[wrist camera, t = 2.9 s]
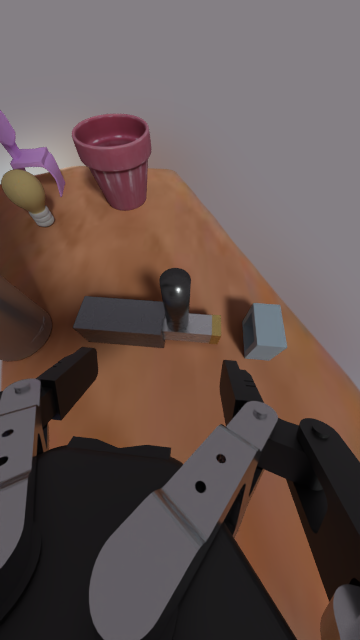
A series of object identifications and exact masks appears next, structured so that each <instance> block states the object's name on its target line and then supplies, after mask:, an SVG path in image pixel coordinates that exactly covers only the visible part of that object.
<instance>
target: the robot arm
mask: <svg viewBox="0 0 360 640" xmlns="http://www.w3.org/2000/svg"><path fill="white" fill-rule="evenodd" d="M51 329H52V321H51V318H50V316H49V314H48V313H47V312H46V311H45V310H43V309H42V308H41V307H40V306H38V305H37V304H36V303H35V302H33V301H32V300H31V299H30V298H29V297H27V296H26V295H25V294H23V293H22V292H21V291H20V290H18V289H17V288H16V287H15V286H13V285H12V284H11V283H10V282H8V281H7V280H6V279H5V278H3V277H2V276H1V275H0V360H3V361H17V360H21V359H24V358H26V357H28V356H30V355H32V354H33V353H35V352H36V351H37V350H38V349H40V348H41V347H42V346H43V344H44V343H45V342H46V341H47V339H48V337H49V335H50V332H51ZM97 374H98V363H97V351H96V349H95V348H89V347H81V348H80V349H79V350H77V351H76V352H75V353H74V354H71V355H69V356H67V357H64V358H63V359H61V360H60V361H59V362H58V363H56V364H55V365H53V367H51V368H49V369H48V370H47V371H45V372H44V373H43V374H41V375H40V376H39V377H37V378H36V379H25V380H21V381H18V382H15V383H13V384H11V385H9V386H8V387H6V388H5V389H4V391H1V392H0V640H297V639H296V637H295V635H294V634H293V632H292V630H291V629H290V627H289V626H288V624H287V622H286V621H285V619H284V618H283V616H282V614H281V613H280V611H279V610H278V608H277V606H276V605H275V603H274V602H273V600H272V598H271V597H270V595H269V594H268V592H267V590H266V589H265V587H264V586H263V584H262V582H261V581H260V579H259V577H258V576H257V574H256V573H255V571H254V569H253V568H252V566H251V565H250V563H249V561H248V560H247V558H246V557H245V555H244V553H243V552H242V550H241V549H240V547H239V545H238V544H237V542H236V541H235V539H234V538H235V536H236V534H237V532H238V529H239V527H240V525H241V522H242V519H243V517H244V514H245V511H246V508H247V506H248V503H249V501H250V499H251V497H252V495H253V493H254V491H255V489H256V486H257V484H258V482H259V480H260V478H261V476H262V474H263V472H264V469H265V470H267V471H270V472H272V473H274V474H276V475H279V476H281V477H283V478H286V480H287V483H288V486H289V489H290V492H291V495H292V497H293V500H294V503H295V506H296V509H297V512H298V514H299V517H300V520H301V523H302V526H303V529H304V531H305V534H306V537H307V540H308V543H309V546H310V548H311V551H312V554H313V557H314V560H315V563H316V565H317V568H318V571H319V574H320V577H321V580H322V582H323V585H324V588H325V591H326V594H327V597H328V599H329V604H328V605H327V607H326V609H325V611H324V613H323V615H322V617H321V623H320V632H321V640H360V462H359V461H358V459H357V458H356V457H355V455H354V454H353V453H352V451H351V450H350V449H349V447H348V446H347V445H346V443H345V442H344V441H343V439H342V438H341V437H340V435H339V434H338V433H337V432H336V431H335V430H334V429H333V428H332V427H330V426H329V425H327V424H325V423H323V422H321V421H319V420H316V419H311V418H305V419H303V420H301V422H300V424H299V425H296V424H293V423H290V422H287V421H284V420H281V419H279V418H278V416H277V414H276V412H275V411H274V410H273V409H272V408H271V407H270V406H268V405H266V404H264V402H263V400H262V398H261V396H260V394H259V392H258V389H257V387H256V385H255V383H254V381H253V379H252V377H251V375H250V374H249V373H248V372H247V371H246V370H240V369H239V367H238V364H237V362H236V361H231V360H223V364H222V371H221V379H220V395H221V401H222V407H223V412H224V418H225V423H226V427H225V426H224V425H222V424H220V425H219V426H218V427H217V428H216V429H215V430H214V431H213V432H212V433H211V434H210V435H209V437H208V438H207V439H206V440H205V441H204V442H203V443H202V444H201V446H200V447H199V448H198V449H197V450H196V451H195V452H194V453H193V454H192V456H191V457H190V458H189V459H188V460H187V461H186V462H185V463H184V464H182V463H181V462H180V461H178V460H176V459H174V458H172V457H170V454H171V448H168V447H160V446H151V445H142V446H133V447H125V448H117V447H115V446H112V445H110V444H107V443H105V442H103V441H100V440H98V439H92V438H83V437H75V436H73V438H72V439H71V441H70V442H69V444H68V445H65V446H60V447H57V448H53V449H51V450H49V425H48V422H49V421H50V420H51V419H53V420H62V419H63V418H64V417H65V415H66V414H67V413H68V412H69V411H70V409H71V408H72V407H73V406H74V405H75V403H76V402H77V401H78V400H79V399H80V397H81V396H82V395H83V394H84V393H85V391H86V390H87V389H88V388H89V387H90V385H91V384H92V383H93V382H94V381H95V379H96V377H97Z"/></svg>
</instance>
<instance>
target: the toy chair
mask: <svg viewBox="0 0 360 640" xmlns="http://www.w3.org/2000/svg"><path fill="white" fill-rule="evenodd" d="M0 143H1V144H2V145H3V146H4V147H5V149H6V150H7V151H8V153H9V154H10V155H11V157H12V158H13V160H12V161H11V163H10V164H11V166H12V168H13V170H14V169H19V170H24V171H26V170H25V168H24V167H43V168H45V169H47V170H48V171H49V172H50V173H51V174H52V176H53V177H54V178H55V180H56V182H57V185H58V189H59V193H60V197H62V194H63V190H64V185H65V181H64V179H63V177H62V174H61V172H60V170H59V168H58V165H57V163H56V161H55V159H54V157H53V155H52V154H51V153H49V151H48V149H47V147H41V148H36V149H19V148H18V147H17V145H16V143H15V131H14V129H13V128H12V126H11V125H10V123H9V121H8V120H7V118H6V117H5V115H4V114H3V113H2V111H1V110H0Z"/></svg>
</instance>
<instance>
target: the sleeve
mask: <svg viewBox="0 0 360 640" xmlns="http://www.w3.org/2000/svg"><path fill="white" fill-rule="evenodd" d="M164 314H165V311H164V305H163V302H159V301H145V300H131V299H117V298H103V297H89V296H85V297H84V300H83V302H82V305H81V308H80V310H79V313H78V315H77V318H76V321H75V323H74V326H73V329H75V330H76V331H77V332H78V333H79V334H81V335H82V336H83V337H84V338H85V339H86V340H88V341H89V342H98V343H110V344H122V345H133V346H145V347H157V348H164V344H165V339H163V335H162V328H163V321H164Z"/></svg>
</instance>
